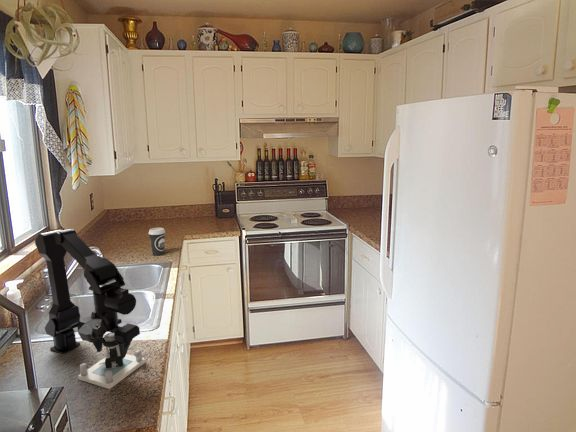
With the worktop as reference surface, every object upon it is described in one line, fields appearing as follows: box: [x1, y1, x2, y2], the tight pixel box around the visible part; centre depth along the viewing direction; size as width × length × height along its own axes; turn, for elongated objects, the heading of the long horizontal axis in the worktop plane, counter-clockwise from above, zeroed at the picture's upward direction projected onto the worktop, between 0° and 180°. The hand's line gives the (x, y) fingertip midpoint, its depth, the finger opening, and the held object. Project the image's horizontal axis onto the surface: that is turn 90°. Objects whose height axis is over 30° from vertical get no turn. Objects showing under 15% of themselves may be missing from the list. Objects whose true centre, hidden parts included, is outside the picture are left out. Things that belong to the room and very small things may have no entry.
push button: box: [99, 332, 123, 368], centre depth 117 cm, size 7×5×10 cm
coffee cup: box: [147, 227, 166, 257], centre depth 229 cm, size 10×10×15 cm
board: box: [77, 346, 146, 390], centre depth 118 cm, size 12×14×4 cm
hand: (111, 354), depth 117 cm, fingers open, 9 cm apart
